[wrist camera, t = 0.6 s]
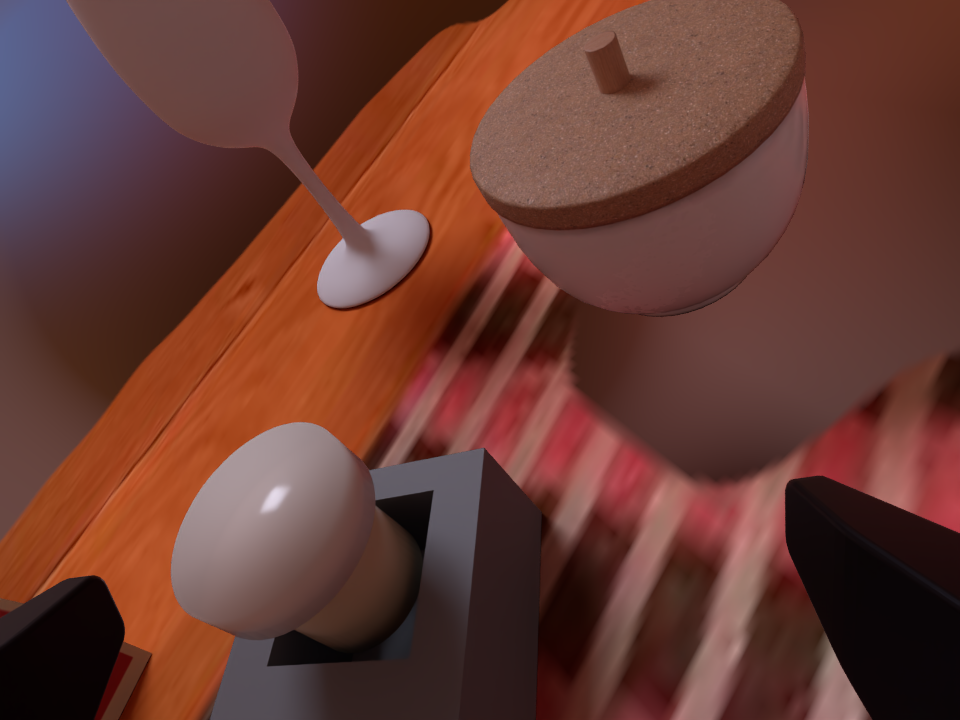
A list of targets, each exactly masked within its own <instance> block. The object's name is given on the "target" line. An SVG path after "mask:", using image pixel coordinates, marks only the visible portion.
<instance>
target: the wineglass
mask: <svg viewBox="0 0 960 720" xmlns="http://www.w3.org/2000/svg"><path fill="white" fill-rule="evenodd" d="M66 1H67V3H68V4H69V6H70V8H71V9H72V10H73V12H74V14H75V15H76V17H77V18H78V20H79V21H80V23H81V24H82V26H83V27H84V29H85V30H86V32H87V33H88V35H89V36H90V38H91V39H92V41H93V42H94V43H95V45H96V46H97V48H98V49H99V50H100V52H101V53H102V54H103V56H104V57H105V58H106V59H107V61H108V62H109V64H110V65H111V66H112V67H113V69H114V70H115V71H116V72H117V74H118V75H119V76H120V77H121V78H122V79H123V81H124V82H125V83H126V84H127V85H128V86H129V87H130V89H131V90H132V91H133V92H134V93H135V94H136V95H137V96H138V97H139V98H140V99H141V100H142V101H143V102H144V103H145V104H146V105H147V106H148V107H149V108H150V109H151V110H152V111H153V112H154V113H155V114H156V115H157V116H158V117H159V118H161V119H162V120H163V121H164V122H165V123H167V124H168V125H169V126H170V127H172V128H173V129H174V130H176V131H177V132H179V133H181V134H183V135H185V136H186V137H188V138H191V139H193V140H195V141H198V142H201V143H204V144H208V145H212V146H218V147H226V148H245V147H262V148H265V149H267V150H269V151H271V152H272V153H273V154H275V155H276V156H277V157H278V158H279V159H280V160H281V161H282V162H283V163H284V164H286V166H287V167H288V168H289V169H290V170H291V171H292V172H293V173H294V174H295V175H296V176H297V177H298V179H299V180H300V181H301V182H302V183H303V184H304V186H305V187H306V188H307V189H308V191H309V192H310V193H311V194H312V195H313V197H314V198H315V199H316V201H317V202H318V203H319V204H320V206H321V207H322V208H323V210H324V211H325V212H326V214H327V215H328V217H329V218H330V219H331V221H332V222H333V224H334V225H335V226H336V228H337V229H338V231H339V232H340V234H341V235H342V237H343V239H342V240H341V241H340V242H339V243H338V244H337V246H336V247H335V248H334V249H333V250H332V252H331V253H330V254H329V256H328V257H327V259H326V261H325V263H324V264H323V266H322V269H321V271H320V274H319V277H318V282H317V291H318V295H319V298H320V299H321V301H322V302H323V303H325V304H326V305H328V306H331V307H334V308H349V307H354V306H358V305H361V304H364V303H366V302H369V301H371V300H373V299H375V298H377V297H379V296H380V295H382V294H384V293H385V292H387V291H388V290H390V289H391V288H392V287H394V286H395V285H396V284H397V283H398V282H400V281H401V280H402V279H403V278H404V277H405V276H406V275H407V274H408V273H409V272H410V271H411V270H412V268H413V267H414V266H415V265H416V263H417V262H418V261H419V259H420V258H421V256H422V254H423V252H424V250H425V248H426V246H427V243H428V240H429V234H430V229H429V223H428V221H427V219H426V218H425V216H423V215H422V214H421V213H419V212H416V211H412V210H397V211H391V212H387V213H384V214H381V215H378V216H376V217H374V218H372V219H370V220H368V221H366V222H364V223H363V224H361V225H360V224H358V223H357V222H356V221H355V220H354V219H353V217H352V216H351V215H350V214H349V213H348V212H347V211H346V210H345V209H344V208H343V207H342V205H341V204H340V203H339V202H338V201H337V200H336V199H335V197H334V196H333V195H332V194H331V193H330V192H329V190H328V189H327V188H326V187H325V185H324V184H323V183H322V182H321V180H320V179H319V178H318V177H317V175H316V174H315V173H314V171H313V170H312V169H311V167H310V166H309V165H308V163H307V162H306V160H305V159H304V158H303V156H302V155H301V153H300V151H299V150H298V148H297V147H296V145H295V143H294V141H293V139H292V137H291V134H290V131H289V121H290V118H291V114H292V111H293V108H294V104H295V100H296V95H297V88H298V66H297V58H296V53H295V49H294V46H293V43H292V40H291V38H290V36H289V33H288V32H287V29H286V27H285V26H284V24H283V22H282V20H281V18H280V17H279V15H278V13H277V12H276V10H275V9H274V7H273V6H272V4H271V2H270V1H269V0H66Z"/></svg>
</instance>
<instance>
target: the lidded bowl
mask: <svg viewBox="0 0 960 720" xmlns="http://www.w3.org/2000/svg"><path fill="white" fill-rule="evenodd" d="M805 62H806V52H805V43H804V37H803V32H802V29H801V26H800V23H799V20H798V18H797V17H796V16H795V14H794V13H793V12H792V10H791V9H790V8H789V7H788V6H786V5H785V4H784V3H782V2H781V1H779V0H651V1H648V2H645V3H642V4H639V5H636V6H633V7H630V8H628V9H625V10H623V11H621V12H618V13H616V14H614V15H612V16H609V17H607V18H605V19H603V20H601V21H599V22H597V23H595V24H593V25H591V26H589V27H586V28H585V29H583V30H581V31H580V32H578V33H576V34H575V35H573V36H571V37H570V38H568V39H566V40H565V41H563V42H562V43H560V44H558V45H557V46H555V47H554V48H552V49H551V50H549V51H548V52H546V53H545V54H544V55H543V56H541V57H540V58H539V59H537V60H536V61H535V62H534V63H532V64H531V65H530V66H529V67H528V68H526V69H525V70H524V71H523V72H522V73H521V74H519V75H518V76H517V77H516V78H515V79H514V80H513V81H512V82H511V83H510V84H509V85H508V86H507V87H506V88H505V89H504V90H503V92H502V93H501V94H500V95H499V96H498V97H497V99H496V100H495V101H494V102H493V104H492V105H491V106H490V107H489V109H488V111H487V112H486V114H485V115H484V117H483V119H482V120H481V122H480V124H479V126H478V129H477V131H476V133H475V135H474V138H473V143H472V147H471V153H470V169H471V172H472V176H473V180H474V181H475V183H476V185H477V187H478V188H479V190H480V191H481V193H482V195H483V196H484V198H485V199H486V201H487V202H488V204H489V205H490V206H491V208H492V209H493V210H495V211H496V212H497V213H498V215H499V217H500V219H501V220H502V222H503V223H504V225H505V226H506V228H507V229H508V231H509V232H510V234H511V235H512V237H513V238H514V240H515V241H516V243H517V245H518V246H519V248H520V249H521V250H522V251H523V252H524V254H525V255H526V256H527V257H528V258H529V260H530V261H531V262H532V263H533V264H534V265H535V266H536V267H537V268H538V269H539V270H540V271H541V272H542V273H543V274H544V275H545V276H546V277H547V278H548V279H550V280H551V281H552V282H553V283H554V284H555V285H556V286H557V287H559V288H560V289H562V290H564V291H565V292H567V293H568V294H570V295H572V296H574V297H575V298H577V299H579V300H581V301H582V302H585V303H588V304H591V305H594V306H597V307H600V308H603V309H605V310H609V311H614V312H620V313H629V314H639V315H645V316H656V317H659V316H660V317H663V316H674V315H679V314H684V313H689V312H691V311H695V310H698V309H701V308H703V307H705V306H707V305H709V304H712V303H714V302H716V301H717V300H719V299H721V298H722V297H724V296H726V295H727V294H728V293H730V292H731V291H732V290H734V289H735V288H736V287H737V286H738V285H739V284H740V283H741V282H742V281H743V280H744V279H745V278H746V277H747V275H748V274H749V273H751V272H752V271H753V270H754V269H755V268H756V267H757V266H758V265H759V264H760V263H761V262H762V261H763V260H764V259H765V258H766V257H767V256H768V255H769V253H770V252H771V250H772V249H773V248H774V247H775V245H776V244H777V243H778V241H779V240H780V238H781V237H782V235H783V234H784V232H785V230H786V228H787V226H788V225H789V223H790V220H791V219H792V217H793V215H794V212H795V209H796V207H797V204H798V201H799V198H800V195H801V191H802V188H803V184H804V179H805V173H806V167H807V160H808V127H809V115H808V103H807V92H806V85H805V67H806V63H805Z"/></svg>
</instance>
